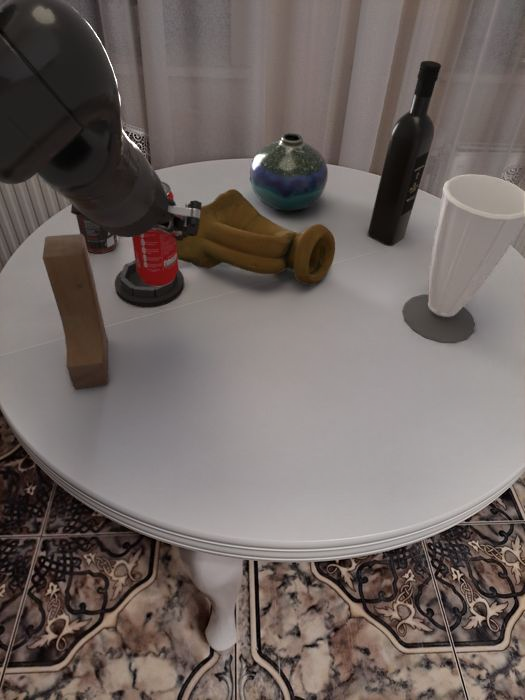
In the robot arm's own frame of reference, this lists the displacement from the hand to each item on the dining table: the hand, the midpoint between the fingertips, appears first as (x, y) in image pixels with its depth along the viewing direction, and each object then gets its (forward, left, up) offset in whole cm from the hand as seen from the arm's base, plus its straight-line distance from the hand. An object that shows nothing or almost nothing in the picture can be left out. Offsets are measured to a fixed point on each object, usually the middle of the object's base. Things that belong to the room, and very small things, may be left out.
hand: (157, 229), depth 63 cm
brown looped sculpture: (+21, +4, -18) cm, 28 cm away
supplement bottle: (+5, +26, -18) cm, 32 cm away
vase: (+42, +16, -18) cm, 48 cm away
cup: (+35, -25, -18) cm, 46 cm away
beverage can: (-1, -1, -6) cm, 6 cm away
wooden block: (-12, +2, -18) cm, 22 cm away
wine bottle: (+48, -5, -18) cm, 51 cm away
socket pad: (+5, +11, -18) cm, 22 cm away
